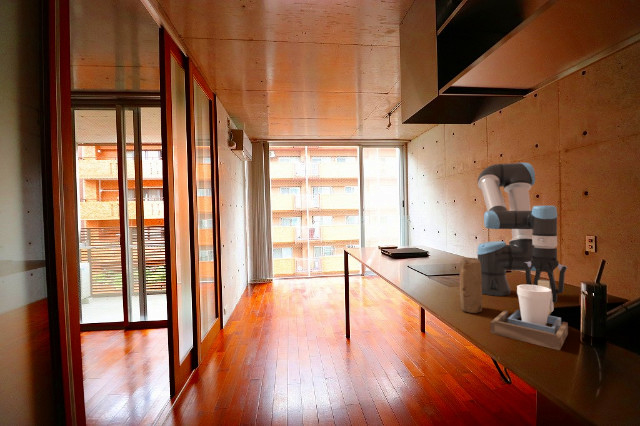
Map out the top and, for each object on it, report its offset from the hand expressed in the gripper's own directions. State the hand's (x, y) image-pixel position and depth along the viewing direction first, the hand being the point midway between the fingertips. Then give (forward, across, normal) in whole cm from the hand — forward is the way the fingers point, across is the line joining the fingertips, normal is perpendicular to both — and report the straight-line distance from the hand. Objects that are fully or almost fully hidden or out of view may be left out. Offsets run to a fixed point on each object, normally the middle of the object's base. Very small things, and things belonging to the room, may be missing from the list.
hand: (544, 309), depth 115 cm
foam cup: (+2, 0, -18) cm, 18 cm away
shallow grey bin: (+1, 0, -25) cm, 25 cm away
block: (+2, -21, -14) cm, 26 cm away
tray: (+1, 0, -11) cm, 11 cm away
